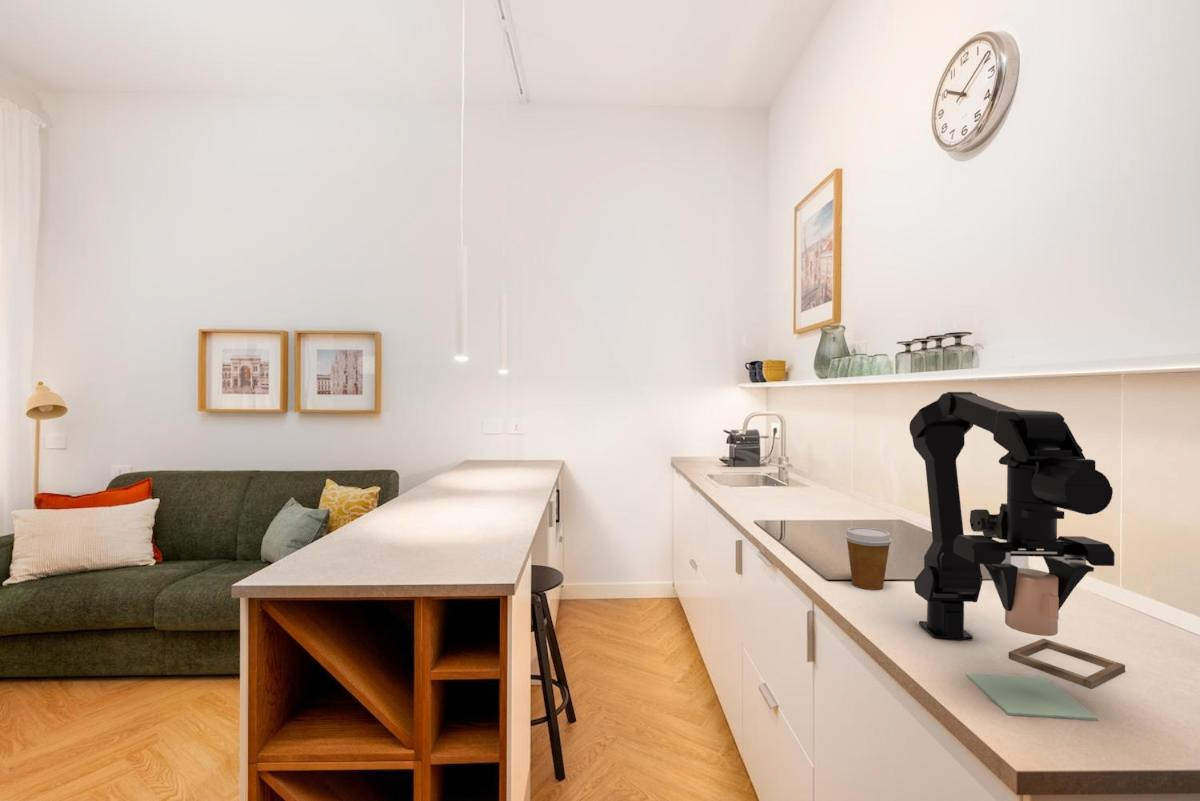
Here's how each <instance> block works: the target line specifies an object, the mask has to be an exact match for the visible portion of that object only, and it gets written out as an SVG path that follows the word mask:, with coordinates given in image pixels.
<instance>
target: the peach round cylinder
mask: <svg viewBox="0 0 1200 801" xmlns="http://www.w3.org/2000/svg"><path fill="white" fill-rule="evenodd" d="M1059 611H1060V610H1059V597H1058V577H1057V576H1055V575H1053V574H1050V573H1049V572H1047V571H1044V570H1043V571H1042V570H1038V569H1031V568H1029V569H1025V568H1018V573H1017V580H1016V588H1015V596H1014V603H1013V607H1012V610H1011V611H1007V610H1005V609H1004V624H1005V625H1006V626H1008V627H1009V628H1010V629H1012V630H1015V631H1018V632H1021V633H1025V634H1029V635H1032V636H1033V635H1034V636H1042V637H1043V636H1044V637H1052V636H1056V635H1058V633H1059V622H1058V621H1059V614H1060V613H1059Z"/></svg>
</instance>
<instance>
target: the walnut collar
mask: <svg viewBox="0 0 1200 801" xmlns="http://www.w3.org/2000/svg"><path fill="white" fill-rule="evenodd" d="M1047 648H1048V649H1050V650H1053V651H1057V652H1059V653H1062V654H1065V655H1068V656H1071V657H1074V658H1076V659H1080V660H1082V661H1085V662H1089V663H1092V664H1095V665H1098V666H1100V667H1103V668H1102V669H1099V670H1098V671H1097V672H1095V673H1092V674H1090V675H1088V676H1085V675H1082V674H1079V673H1076V672H1074V671H1071V670H1068V669H1066V668H1065V669H1064V668H1062V667H1059V666H1056V665H1053V664H1050V663H1048V662H1046V661H1042V660H1039V659H1036V658H1034V657H1031V655H1033V654H1035V653H1038V652H1039V651H1042V650H1044V649H1047ZM1008 659H1009V660H1010V659H1011V660H1012V661H1016V662H1018V663H1021V664H1024V665H1026V666H1029V667H1032V668H1034V669H1037V670H1040V671H1043V672H1045V673H1049V674H1051V675H1054V676H1055V677H1058V678H1062V679H1065V680H1068V681H1070V682H1072V683H1075V684H1079V685H1081V686H1083V687H1086V688H1090V689H1094V688H1095V687H1098V686H1100V685H1101V684H1103V683H1106V682H1107V681H1110V680H1112V679H1113V678H1115V677H1116V676H1119V675H1120V674H1123V673H1124V672H1126V664H1124V663H1121V662H1119V661H1114V660H1112V659H1109V658H1105V657H1104V656H1103V657H1102V656H1099V655H1097V654H1093V653H1089V652H1087V651H1084V650H1080V649H1077V648H1074V647H1071V646H1068V645H1066V644H1063V643H1058V642H1055V641H1052V640H1050V639H1047V638H1044V637H1043V638H1041V639H1038V640H1035V641H1033V642H1031V643H1028V644H1025V645H1023V646H1021V647H1018V648H1016V649H1012V650H1011V651H1008Z"/></svg>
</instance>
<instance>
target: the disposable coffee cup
mask: <svg viewBox="0 0 1200 801" xmlns="http://www.w3.org/2000/svg"><path fill="white" fill-rule="evenodd" d="M846 530H847V531H846V532H845V534H844V537H845V540H846V542H847V550H848V559H849V567H850V574H851V575H850V576H851V584H852V585H853V586H855V587H856V586H857V587H856V588H859V587H860V589H863V588H864V589H863V590H868V589H871V590H872V591H877V590H878V589H879V590H881V589H884V583H885V577H886V570H887V563H888V557H889V550H890V545H891V542H892V541H893V539H892V538H891V534H890V532H888V531H887V530H884V529H880V528H873V527H867V526H866V527H864V526H863V527H862V526H858V527H857V526H856V527H849V528H847V529H846ZM873 589H874V590H873ZM871 590H870V591H871Z"/></svg>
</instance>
